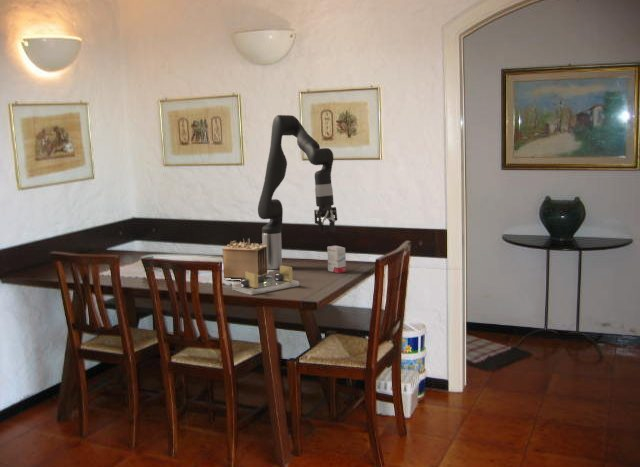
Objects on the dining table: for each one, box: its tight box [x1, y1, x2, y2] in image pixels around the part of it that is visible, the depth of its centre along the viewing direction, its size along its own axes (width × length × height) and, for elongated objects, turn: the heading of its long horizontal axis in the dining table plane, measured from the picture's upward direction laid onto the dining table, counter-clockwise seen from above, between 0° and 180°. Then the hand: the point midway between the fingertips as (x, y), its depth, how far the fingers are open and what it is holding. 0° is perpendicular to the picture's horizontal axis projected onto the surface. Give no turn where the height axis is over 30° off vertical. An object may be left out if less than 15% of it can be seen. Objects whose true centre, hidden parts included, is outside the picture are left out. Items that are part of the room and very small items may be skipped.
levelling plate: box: [231, 275, 300, 296], centre depth 312 cm, size 14×25×5 cm, turn 130°
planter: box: [222, 237, 274, 279], centre depth 331 cm, size 25×25×19 cm
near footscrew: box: [240, 271, 258, 288], centre depth 305 cm, size 9×5×6 cm, turn 40°
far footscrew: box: [274, 264, 293, 282], centre depth 317 cm, size 9×5×6 cm, turn 40°
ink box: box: [326, 245, 347, 274], centre depth 344 cm, size 9×5×12 cm, turn 33°
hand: (327, 232), depth 317 cm, fingers open, 8 cm apart
